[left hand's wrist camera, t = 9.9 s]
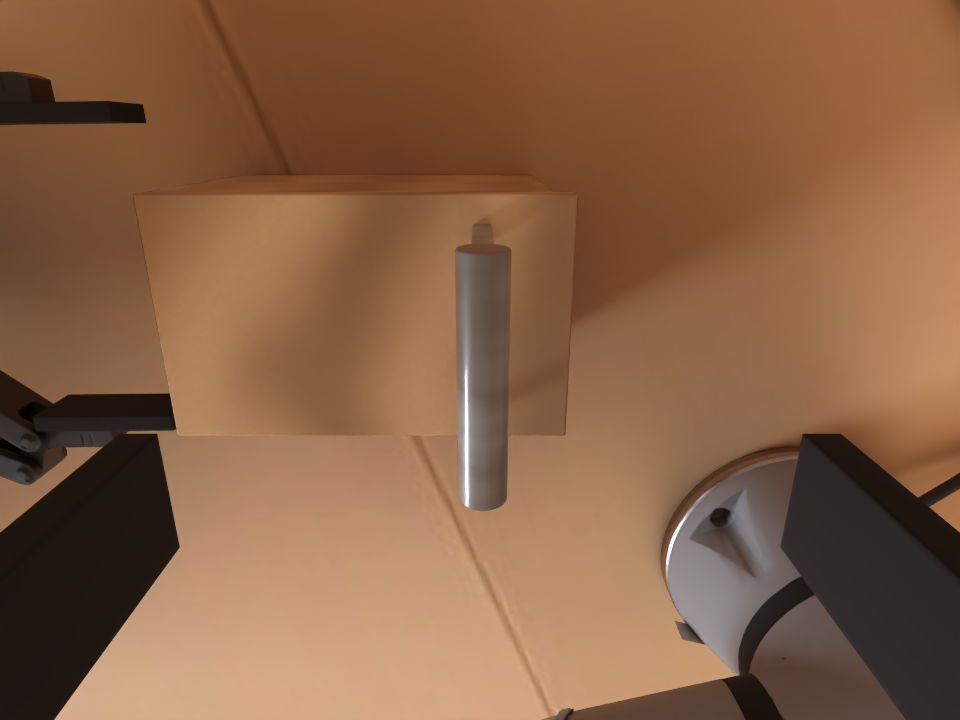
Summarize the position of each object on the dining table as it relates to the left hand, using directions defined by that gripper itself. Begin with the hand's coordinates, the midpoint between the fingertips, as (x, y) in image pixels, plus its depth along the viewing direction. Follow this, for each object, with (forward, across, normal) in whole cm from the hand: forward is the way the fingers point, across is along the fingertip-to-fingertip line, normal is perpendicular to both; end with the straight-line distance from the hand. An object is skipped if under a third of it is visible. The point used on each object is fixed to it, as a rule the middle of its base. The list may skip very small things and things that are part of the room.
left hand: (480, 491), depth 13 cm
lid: (+13, -5, 0) cm, 14 cm away
